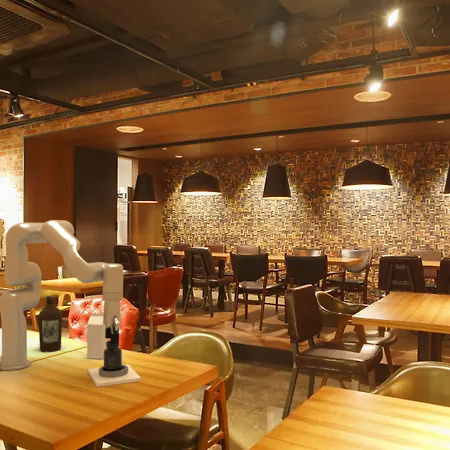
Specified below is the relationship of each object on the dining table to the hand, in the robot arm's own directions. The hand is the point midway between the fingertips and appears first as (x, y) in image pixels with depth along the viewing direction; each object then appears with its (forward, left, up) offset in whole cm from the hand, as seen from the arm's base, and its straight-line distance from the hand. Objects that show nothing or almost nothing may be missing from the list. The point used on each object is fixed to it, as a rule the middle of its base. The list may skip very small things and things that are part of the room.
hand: (112, 340), depth 188 cm
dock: (0, 0, -14) cm, 14 cm away
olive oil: (-18, +55, -14) cm, 59 cm away
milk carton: (0, +32, -14) cm, 35 cm away
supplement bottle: (0, 0, -13) cm, 13 cm away
